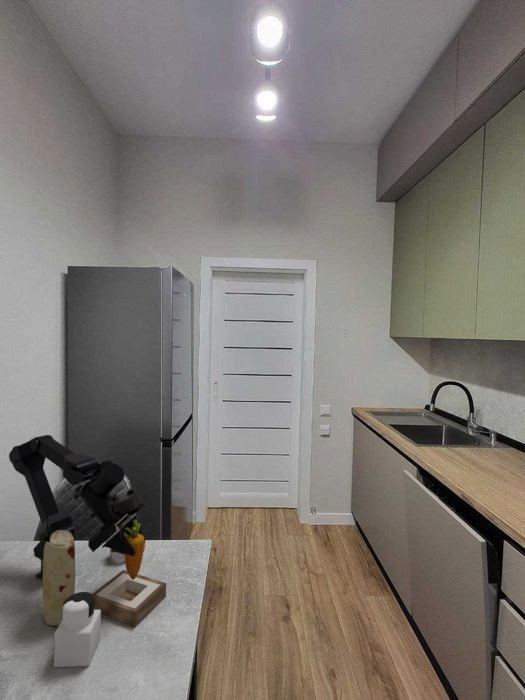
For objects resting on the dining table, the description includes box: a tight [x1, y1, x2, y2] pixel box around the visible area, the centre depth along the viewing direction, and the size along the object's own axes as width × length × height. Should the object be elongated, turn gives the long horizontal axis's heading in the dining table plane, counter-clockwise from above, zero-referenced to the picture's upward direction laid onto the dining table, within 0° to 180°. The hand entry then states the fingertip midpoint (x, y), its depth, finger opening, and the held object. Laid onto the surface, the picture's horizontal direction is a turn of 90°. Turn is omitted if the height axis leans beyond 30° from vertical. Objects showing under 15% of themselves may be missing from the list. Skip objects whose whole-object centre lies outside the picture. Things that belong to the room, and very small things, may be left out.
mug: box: [109, 532, 146, 566], centre depth 119 cm, size 10×7×7 cm
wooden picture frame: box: [96, 573, 160, 608], centre depth 99 cm, size 12×10×3 cm
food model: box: [42, 530, 76, 627], centre depth 93 cm, size 10×7×20 cm
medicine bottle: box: [53, 591, 102, 668], centre depth 83 cm, size 7×7×12 cm
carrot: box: [124, 520, 145, 580], centre depth 100 cm, size 5×5×15 cm
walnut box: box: [91, 569, 167, 628], centre depth 99 cm, size 14×12×4 cm
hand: (139, 549), depth 100 cm, fingers closed on carrot, 5 cm apart
